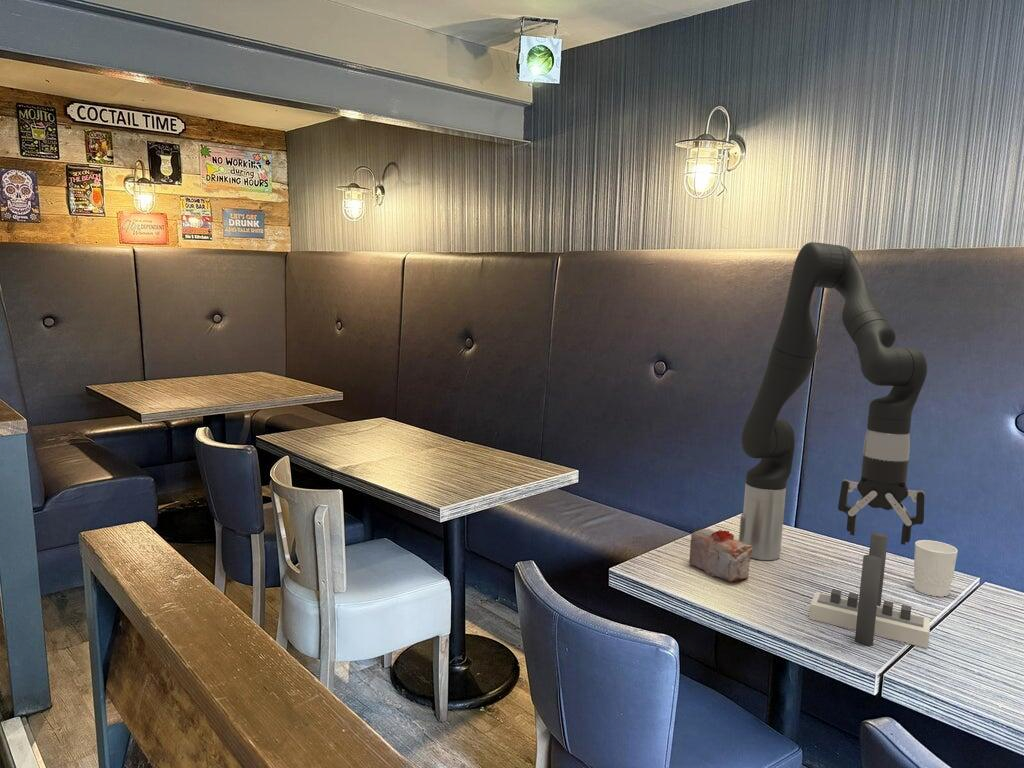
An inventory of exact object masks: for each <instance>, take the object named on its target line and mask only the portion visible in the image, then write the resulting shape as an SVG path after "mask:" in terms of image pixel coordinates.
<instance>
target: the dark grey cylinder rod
mask: <svg viewBox="0 0 1024 768" xmlns="http://www.w3.org/2000/svg"><path fill="white" fill-rule="evenodd" d="M888 542H889V536H888V535H887V534H885V533H883V532H876V531H874V532H871V533H870V541H869V549H868V550H869V551H868V555H874V556H877V557H880V558H881V559H882V564H881V574H880V583H879V592H878V602H877V606H880V607H882V606H881V604H882V599H883V598H882V597H883V587H884V578H885V569H886V560H887V559H886V558H887V550H888Z"/></svg>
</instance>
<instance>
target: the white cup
mask: <svg viewBox="0 0 1024 768" xmlns="http://www.w3.org/2000/svg"><path fill="white" fill-rule="evenodd" d="M957 557H958V549H957V548H956V547H955V546H953V545H951V544H948V543H945V542H942V541H936V540H931V539H930V540H929V539H927V540H926V539H922V540H921V539H920V540H917V541H915V543H914V557H913V588H914V590H916V591H917V592H919V593H921V594H923V593H924V595H926V594H927V596H930V595H932V596H931V597H936V596H939V597H940V598H944V596H945V597H948V596H949V594H950V593H951V587H952V583H953V578H954V574H955V569H956V563H957V562H956V561H957ZM939 597H938V598H939Z"/></svg>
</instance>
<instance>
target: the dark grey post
mask: <svg viewBox="0 0 1024 768" xmlns="http://www.w3.org/2000/svg"><path fill="white" fill-rule="evenodd" d="M881 564H882V559H881V558H880V557H877V556H874V555H869V554H864V555H863V558H862V565H861V566H862V568H861V577H860V586H859V593H858V602H859V604H858V613H857V623H856V630H855V634H854V642H856V643H857V644H859V645H862V646H866V647H870V646H873V645H874V640H875V639H874V637H875V635H874V630H875V620H876V611H877V602H878V592H879V583H880V574H881Z"/></svg>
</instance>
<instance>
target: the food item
mask: <svg viewBox="0 0 1024 768" xmlns="http://www.w3.org/2000/svg"><path fill="white" fill-rule="evenodd" d="M734 538H735V535H734V534H733V533H730V531H729V530H723V529H719V530H716V531H714V530H712V529H710V528H709V529H707V528H702V529H699V530H695V531H693V532H692V533H691V535H690V549H689V559H688V564H689V566H692V567H696V568H698V569H700V570H702V571H704V572H705V573H706V575H708V576H712V577H717V578H720V579H722V580H725V581H728V582H737V581H742V580H745V579H748V578H749V571H750V563H751V562H752V561H751V554H752V547H753V546H752V545H747V544H745V543H742V542H740V541H739V540H736V539H734Z"/></svg>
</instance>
